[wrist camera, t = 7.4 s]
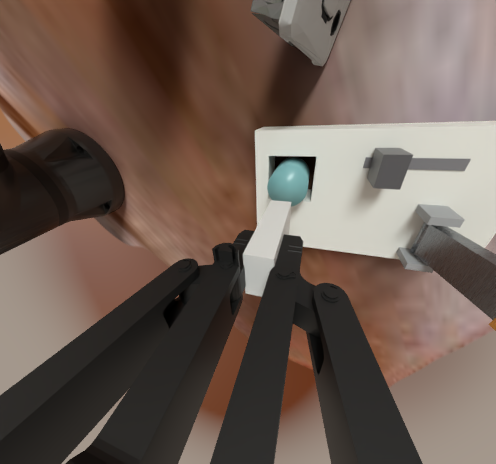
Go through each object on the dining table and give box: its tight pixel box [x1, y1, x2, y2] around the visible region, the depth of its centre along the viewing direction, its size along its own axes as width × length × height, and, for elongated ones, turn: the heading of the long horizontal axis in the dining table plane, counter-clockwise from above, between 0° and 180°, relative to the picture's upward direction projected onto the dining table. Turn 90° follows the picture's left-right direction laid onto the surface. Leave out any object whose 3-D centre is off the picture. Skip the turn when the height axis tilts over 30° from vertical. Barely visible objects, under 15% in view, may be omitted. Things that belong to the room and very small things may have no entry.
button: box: [267, 157, 310, 207], centre depth 22 cm, size 4×4×5 cm
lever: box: [410, 222, 496, 331], centre depth 16 cm, size 2×4×10 cm, turn 3°
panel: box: [255, 121, 496, 273], centre depth 22 cm, size 24×14×7 cm, turn 93°
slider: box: [367, 148, 413, 190], centre depth 17 cm, size 2×3×3 cm
